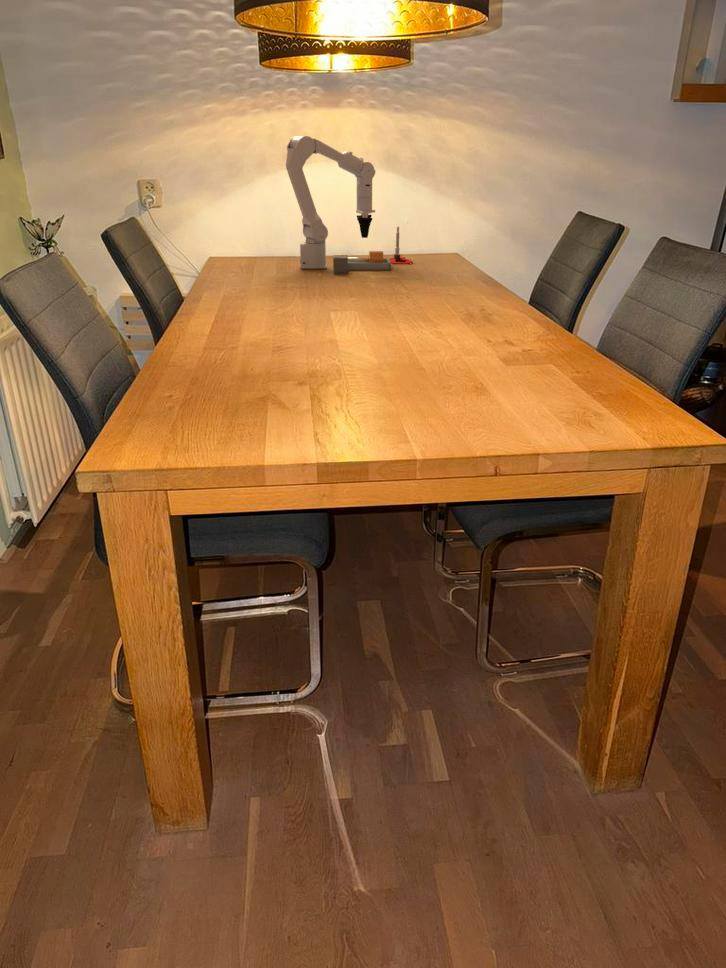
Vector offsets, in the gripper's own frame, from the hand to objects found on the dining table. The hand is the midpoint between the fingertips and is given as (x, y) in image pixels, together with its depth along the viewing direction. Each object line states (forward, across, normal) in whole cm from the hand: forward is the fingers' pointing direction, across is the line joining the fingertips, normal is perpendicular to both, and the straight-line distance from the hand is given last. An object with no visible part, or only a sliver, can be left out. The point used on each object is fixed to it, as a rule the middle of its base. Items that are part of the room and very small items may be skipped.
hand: (364, 236), depth 276 cm
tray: (+10, -10, +1) cm, 14 cm away
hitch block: (+10, -19, +9) cm, 23 cm away
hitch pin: (+9, -9, +1) cm, 13 cm away
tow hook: (+10, +2, -14) cm, 18 cm away
